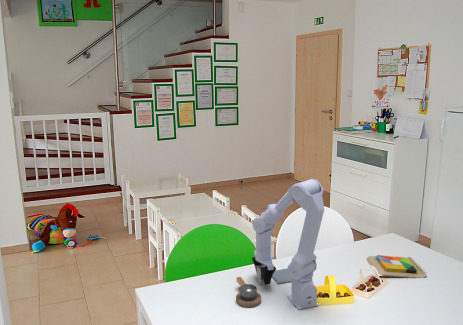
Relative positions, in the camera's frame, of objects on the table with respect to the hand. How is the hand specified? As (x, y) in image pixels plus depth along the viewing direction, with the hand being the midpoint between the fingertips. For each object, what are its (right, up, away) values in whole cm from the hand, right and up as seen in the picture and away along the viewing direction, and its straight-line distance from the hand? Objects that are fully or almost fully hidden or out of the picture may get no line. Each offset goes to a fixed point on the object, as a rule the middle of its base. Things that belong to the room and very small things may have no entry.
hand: (263, 279), depth 161 cm
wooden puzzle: (+55, +1, +11) cm, 56 cm away
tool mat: (+9, 0, +5) cm, 10 cm away
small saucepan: (-7, -2, -9) cm, 12 cm away
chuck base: (-6, -4, -12) cm, 14 cm away
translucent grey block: (0, -2, 0) cm, 2 cm away
